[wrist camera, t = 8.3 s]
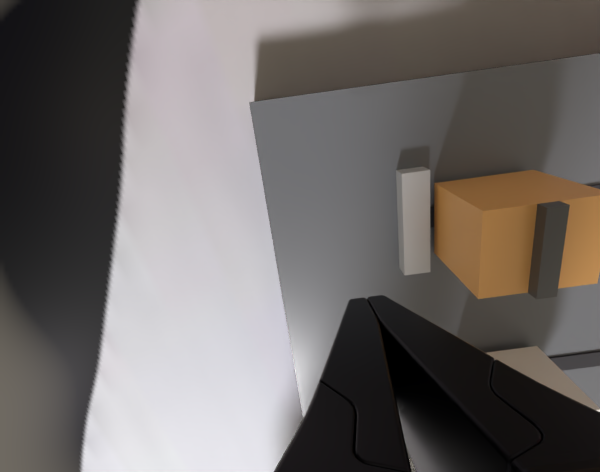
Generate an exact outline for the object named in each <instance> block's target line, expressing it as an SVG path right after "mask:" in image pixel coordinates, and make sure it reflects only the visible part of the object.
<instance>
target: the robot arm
mask: <svg viewBox="0 0 600 472" xmlns="http://www.w3.org/2000/svg"><path fill="white" fill-rule="evenodd" d="M406 446H407V448H406ZM407 449H408V451H409V454H410V456H411V459H412V461H413V464H414V466H415V469H416V471H417V472H600V412H599V411H596V410H594V409H592V408H590V407H588V406H586V405H584V404H582V403H580V402H577V401H575V400H573V399H571V398H569V397H567V396H565V395H563V394H561V393H559V392H557V391H555V390H553V389H551V388H549V387H547V386H545V385H543V384H541V383H539V382H537V381H535V380H534V379H532V378H530V377H528V376H526V375H524V374H522V373H521V372H519V371H517V370H515V369H513V368H511V367H510V366H508V365H506V364H504V363H503V362H501V361H499V360H494V358H493V357H492V356H490V355H488V354H487V353H485V352H483V351H481V350H480V349H478V348H476V347H474V346H473V345H471V344H469V343H467V342H465V341H464V340H462V339H460V338H458V337H457V336H455V335H453V334H451V333H450V332H448V331H446V330H444V329H443V328H441V327H439V326H437V325H436V324H434V323H432V322H430V321H429V320H427V319H425V318H423V317H422V316H420V315H418V314H416V313H414V312H413V311H411V310H409V309H407V308H406V307H404V306H402V305H400V304H399V303H397V302H395V301H393V300H392V299H390V298H388V297H386V296H384V295H377V296H370V297H368V298H367V299H366V298H364V297H362V298H355V299H350V300H349V301H348V304H347V307H346V309H345V312H344V315H343V317H342V320H341V323H340V325H339V328H338V331H337V334H336V336H335V339H334V342H333V344H332V347H331V350H330V352H329V355H328V358H327V360H326V363H325V366H324V368H323V371H322V374H321V376H320V379H319V383H318V384H317V387H316V389H315V392H314V395H313V397H312V400H311V402H310V404H309V407H308V409H307V411H306V414H305V416H304V418H303V420H302V422H301V424H300V425H299V427H298V429H297V431H296V433H295V435H294V437H293V439H292V440H291V442H290V444H289V446H288V447H287V449H286V451H285V453H284V455H283V456H282V458H281V460H280V462H279V463H278V465H277V467H276V469H275V470H274V472H411V467H410V462H409V458H408V453H407Z"/></svg>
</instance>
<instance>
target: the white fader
mask: <svg viewBox="0 0 600 472" xmlns="http://www.w3.org/2000/svg"><path fill="white" fill-rule="evenodd" d="M487 354H488V355H490V356H492V357H493V358H494V360H499V361H501V362H503V363H504V364H506V365H508V366H510V367H511V368H513V369H515V370H517V371H519V372H521V373H522V374H524V375H526V376H528V377H530V378H532V379H534V380H535V381H537V382H539V383H541V384H543V385H545V386H547V387H549V388H551V389H553V390H555V391H557V392H559V393H561V394H563V395H565V396H567V397H569V398H571V399H573V400H575V401H577V402H580V403H582V404H584V405H586V406H588V407H590V408H592V409H594V410H596V411H599V412H600V408H599V407H598V406H597V405H596V404H595V403H594V402H593V401H592V400H591V399H590V398H589V397H588V396H587V395H586V394H585V393H584V392H583V391H582V390H581V389H580V388H579V387H578V386H577V385H576V384H575V383H574V382H573V381H572V380H571V379H570V378H569V377H568V376H567V375H566V374H565V373H564V372H563V371H562V370H561V369H560V368H559V367H558V366H557V365H556V364H555V363H554V362H553V361H552V360H551V359H550V358H549V357H548V356H547V355H546V354H545V353H544V352H543V351H542V350H541V349H539V348H538V347H537V346H533V347H525V348H517V349H510V350H502V351H494V352H487Z"/></svg>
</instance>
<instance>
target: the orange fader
mask: <svg viewBox="0 0 600 472" xmlns="http://www.w3.org/2000/svg"><path fill="white" fill-rule="evenodd" d="M434 253H435V254H436V255H437V256H438V257H439V258H440V259H441V261H442V262H443V263H444V264H445V265H446V266H447V267H448V268H449V269H450V270H451V271H452V272H453V273H454V274H455V275H456V276H457V277H458V278H459V279H460V281H461V282H462V283H463V284H464V285H465V286H466V287H467V288H468V289H469V290H470V291H471V292H472V293H473V294H474V295H475V296H476V297H477V298H478V299H483V298H490V297H498V296H506V295H513V294H521V293H529V294H530V295H531V296H533V297H534V298H535V299H544V298H551V297H557V292H558V289H559V288H566V287H574V286H581V285H589V284H597V283H598V278H599V272H600V189H597V188H594V187H590V186H587V185H584V184H580V183H577V182H573V181H570V180H567V179H563V178H560V177H556V176H553V175H550V174H546V173H543V172H539V171H536V170H527V171H520V172H512V173H505V174H498V175H490V176H483V177H476V178H468V179H461V180H454V181H446V182H439V183H434Z"/></svg>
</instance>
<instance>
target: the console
mask: <svg viewBox="0 0 600 472" xmlns="http://www.w3.org/2000/svg"><path fill="white" fill-rule="evenodd" d="M249 104H250V110H251V116H252V121H253V127H254V133H255V139H256V145H257V151H258V157H259V163H260V168H261V174H262V180H263V186H264V192H265V198H266V204H267V210H268V215H269V221H270V227H271V233H272V239H273V245H274V251H275V257H276V262H277V268H278V274H279V280H280V286H281V292H282V298H283V304H284V309H285V315H286V321H287V327H288V333H289V339H290V345H291V351H292V356H293V362H294V368H295V374H296V380H297V386H298V392H299V398H300V404H301V409H302V415H303V418H304V416H305V414H306V411H307V409H308V407H309V404H310V402H311V400H312V397H313V395H314V392H315V389H316V387H317V384H318V383H319V379H320V376H321V374H322V371H323V368H324V366H325V363H326V360H327V358H328V355H329V352H330V350H331V347H332V344H333V342H334V339H335V336H336V334H337V331H338V328H339V325H340V323H341V320H342V317H343V315H344V312H345V309H346V307H347V304H348V301H349V300H350V299H355V298H362V297H364V298H366V299H367V298H368V297H370V296H377V295H384V296H386V297H388V298H390V299H392V300H393V301H395V302H397V303H399V304H400V305H402V306H404V307H406V308H407V309H409V310H411V311H413V312H414V313H416V314H418V315H420V316H422V317H423V318H425V319H427V320H429V321H430V322H432V323H434V324H436V325H437V326H439V327H441V328H443V329H444V330H446V331H448V332H450V333H451V334H453V335H455V336H457V337H458V338H460V339H462V340H464V341H465V342H467V343H469V344H471V345H473V346H474V347H476V348H478V349H480V350H481V351H483V352H485V353H487V352H494V351H502V350H510V349H517V348H525V347H533V346H537V347H538V348H539V349H541V350H542V351H543V352H544V353H545V354H546V355H547V356H548V357H549V358H550V359H551V360H552V361H553V362H554V363H555V364H556V365H557V366H558V367H559V368H560V369H561V370H562V371H563V372H564V373H565V374H566V375H567V376H568V377H569V378H570V379H571V380H572V381H573V382H574V383H575V384H576V385H577V386H578V387H579V388H580V389H581V390H582V391H583V392H584V393H585V394H586V395H587V396H588V397H589V398H590V399H591V400H592V401H593V402H594V403H595V404H596V405H597V406H598V407H599V408H600V272H599V278H598V283H597V284H589V285H581V286H574V287H566V288H559V289H558V292H557V297H551V298H544V299H535V298H534V297H533V296H531V295H530V294H529V293H521V294H513V295H506V296H498V297H490V298H483V299H478V298H477V297H476V296H475V295H474V294H473V293H472V292H471V291H470V290H469V289H468V288H467V287H466V286H465V285H464V284H463V283H462V282H461V281H460V279H459V278H458V277H457V276H456V275H455V274H454V273H453V272H452V271H451V270H450V269H449V268H448V267H447V266H446V265H445V264H444V263H443V262H442V261H441V259H440V258H439V257H438V256H437V255H436V254H435V253H434V183H439V182H446V181H454V180H461V179H468V178H476V177H483V176H490V175H498V174H505V173H512V172H520V171H527V170H536V171H539V172H543V173H546V174H550V175H553V176H556V177H560V178H563V179H567V180H570V181H573V182H577V183H580V184H584V185H587V186H590V187H594V188H597V189H600V53H597V54H590V55H583V56H576V57H569V58H562V59H554V60H547V61H540V62H533V63H526V64H519V65H512V66H505V67H497V68H490V69H483V70H476V71H469V72H462V73H455V74H448V75H440V76H433V77H426V78H419V79H412V80H405V81H398V82H391V83H383V84H376V85H369V86H362V87H355V88H348V89H341V90H334V91H326V92H319V93H312V94H305V95H298V96H291V97H284V98H277V99H269V100H262V101H255V102H249ZM406 448H407V446H406ZM407 453H408V458H411V456H410V454H409V451H408V449H407Z"/></svg>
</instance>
